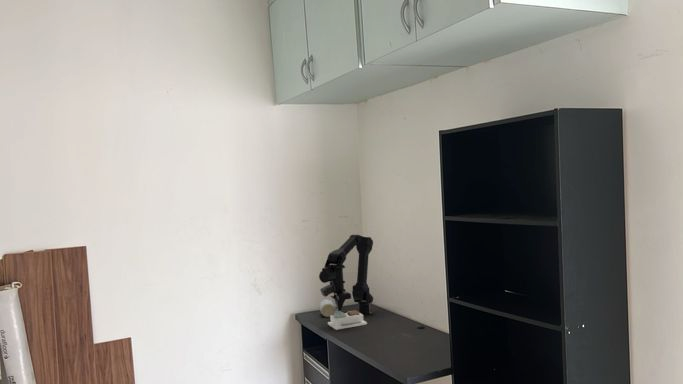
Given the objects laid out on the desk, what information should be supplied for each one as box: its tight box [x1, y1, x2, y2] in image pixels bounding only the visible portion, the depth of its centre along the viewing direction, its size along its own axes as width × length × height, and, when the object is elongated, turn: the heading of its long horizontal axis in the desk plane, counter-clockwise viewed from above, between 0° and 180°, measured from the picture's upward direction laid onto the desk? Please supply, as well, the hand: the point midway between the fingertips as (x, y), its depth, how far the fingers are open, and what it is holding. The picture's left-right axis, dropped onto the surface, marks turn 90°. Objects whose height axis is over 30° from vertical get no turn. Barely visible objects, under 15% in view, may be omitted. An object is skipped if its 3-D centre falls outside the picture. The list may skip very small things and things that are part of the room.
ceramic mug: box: [318, 298, 342, 318], centre depth 282 cm, size 11×8×8 cm
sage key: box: [333, 311, 346, 318], centre depth 264 cm, size 4×4×3 cm
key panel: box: [327, 312, 368, 331], centre depth 263 cm, size 11×16×4 cm
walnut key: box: [346, 309, 359, 316], centre depth 266 cm, size 4×4×3 cm
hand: (339, 310), depth 264 cm, fingers closed
